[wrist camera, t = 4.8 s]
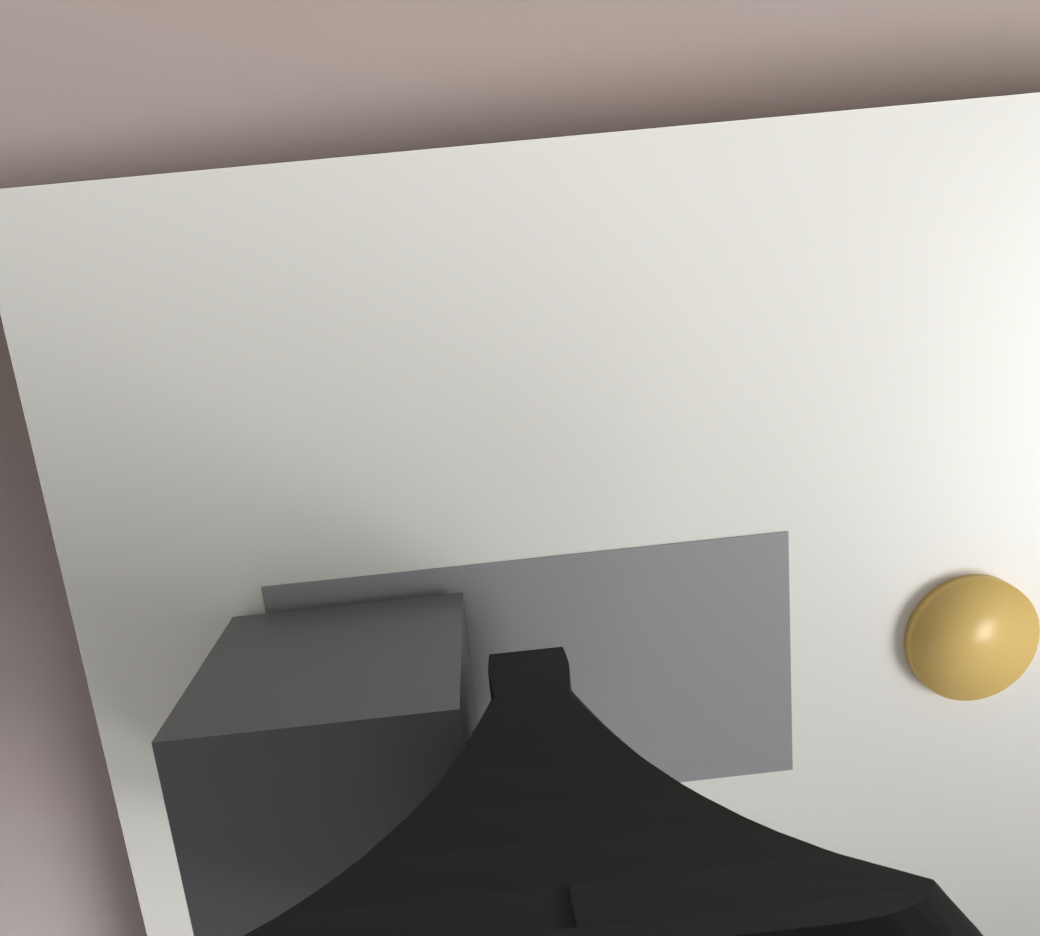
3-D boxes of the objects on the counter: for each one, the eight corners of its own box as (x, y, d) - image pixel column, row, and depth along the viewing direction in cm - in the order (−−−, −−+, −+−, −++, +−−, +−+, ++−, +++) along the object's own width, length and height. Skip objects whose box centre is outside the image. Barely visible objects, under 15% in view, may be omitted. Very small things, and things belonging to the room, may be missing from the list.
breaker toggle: (463, 592, 12) (459, 709, 9) (486, 792, 12) (490, 961, 9) (232, 616, 12) (150, 742, 9) (270, 816, 12) (206, 995, 9)
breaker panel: (1141, 94, 12) (1515, 10, 8) (1055, 1204, 17) (1255, 1533, 13) (33, 198, 12) (-228, 170, 7) (276, 1302, 17) (206, 1675, 12)
